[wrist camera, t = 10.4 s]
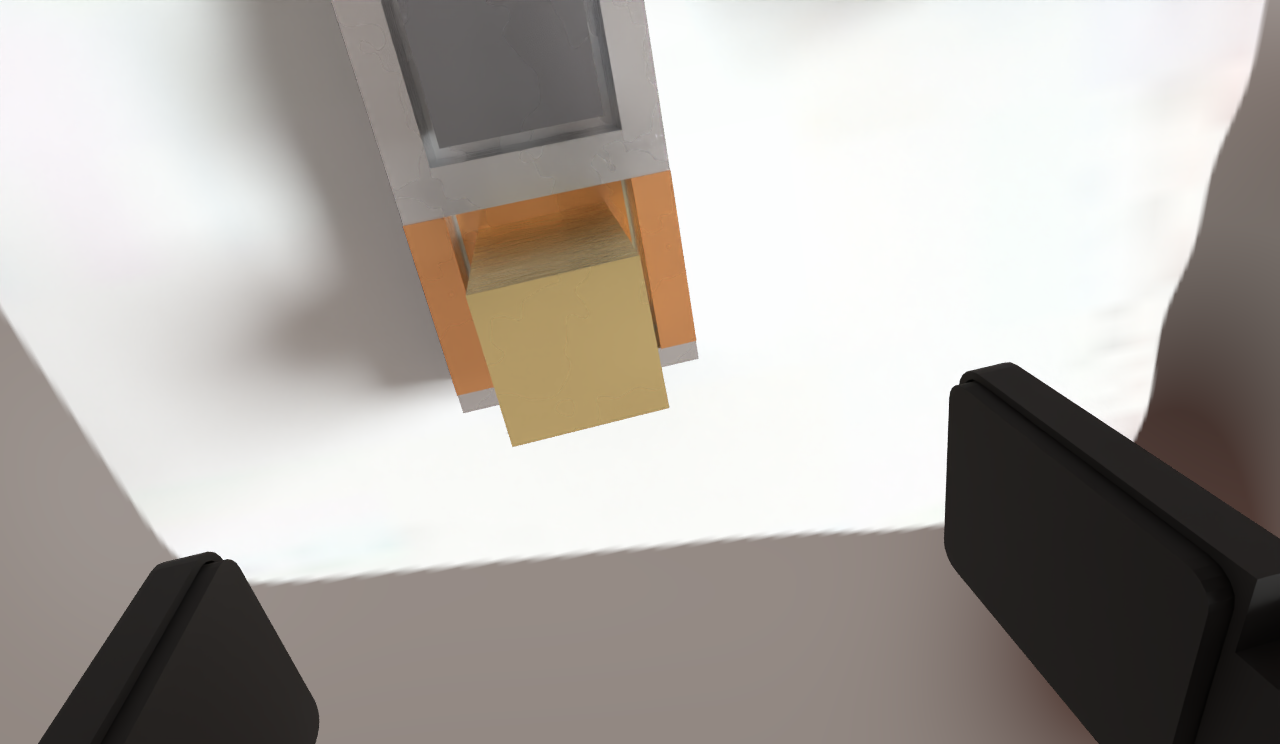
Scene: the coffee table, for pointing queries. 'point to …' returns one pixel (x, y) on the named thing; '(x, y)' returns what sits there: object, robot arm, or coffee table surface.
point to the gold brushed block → (564, 323)
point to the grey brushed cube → (501, 65)
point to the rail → (523, 176)
